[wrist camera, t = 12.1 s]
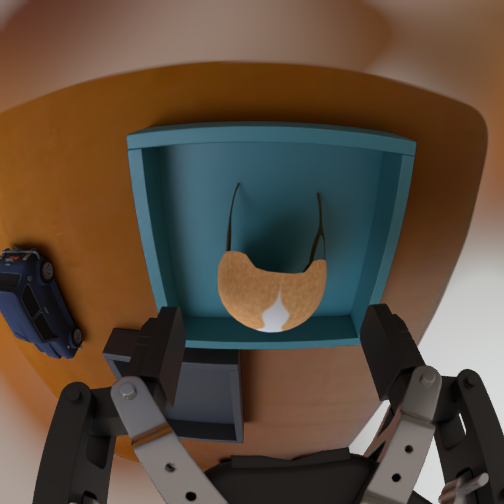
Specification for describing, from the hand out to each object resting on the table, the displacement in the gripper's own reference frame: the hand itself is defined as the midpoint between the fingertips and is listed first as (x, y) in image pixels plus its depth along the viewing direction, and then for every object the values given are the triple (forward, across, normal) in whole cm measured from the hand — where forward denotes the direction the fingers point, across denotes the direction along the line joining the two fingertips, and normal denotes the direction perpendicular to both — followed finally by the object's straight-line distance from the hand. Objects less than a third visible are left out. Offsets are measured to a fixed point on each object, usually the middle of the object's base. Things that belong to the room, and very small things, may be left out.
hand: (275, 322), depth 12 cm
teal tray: (+8, 0, 0) cm, 8 cm away
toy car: (+8, +21, +6) cm, 23 cm away
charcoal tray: (+8, +8, +18) cm, 21 cm away
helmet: (+7, 0, 0) cm, 7 cm away
